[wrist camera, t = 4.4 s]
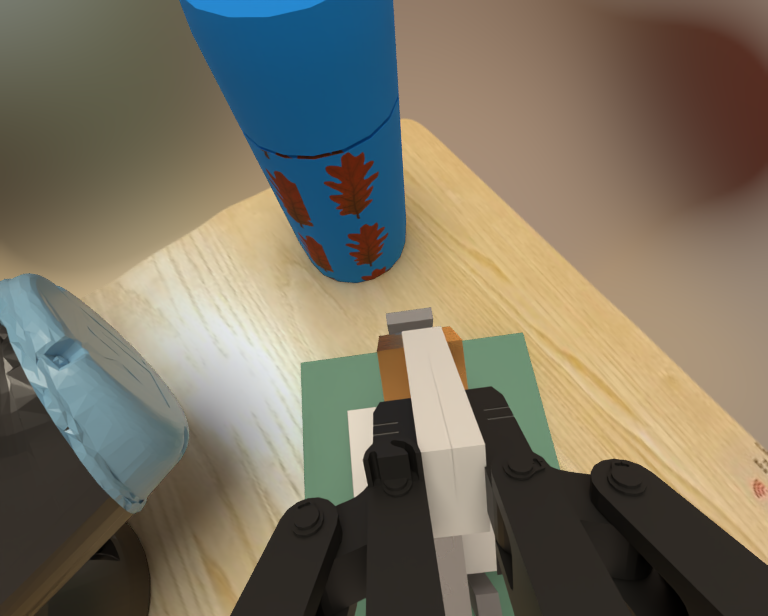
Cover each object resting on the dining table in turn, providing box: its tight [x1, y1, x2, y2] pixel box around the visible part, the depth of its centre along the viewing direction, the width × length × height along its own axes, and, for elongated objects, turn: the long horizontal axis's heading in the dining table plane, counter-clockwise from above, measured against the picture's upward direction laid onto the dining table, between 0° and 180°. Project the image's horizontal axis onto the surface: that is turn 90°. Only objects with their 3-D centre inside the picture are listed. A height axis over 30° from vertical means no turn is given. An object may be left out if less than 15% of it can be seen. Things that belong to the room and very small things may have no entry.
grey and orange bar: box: [377, 326, 472, 616], centre depth 19 cm, size 4×16×4 cm
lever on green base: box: [301, 307, 560, 616], centre depth 27 cm, size 20×22×11 cm
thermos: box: [179, 0, 406, 283], centre depth 30 cm, size 11×11×25 cm
